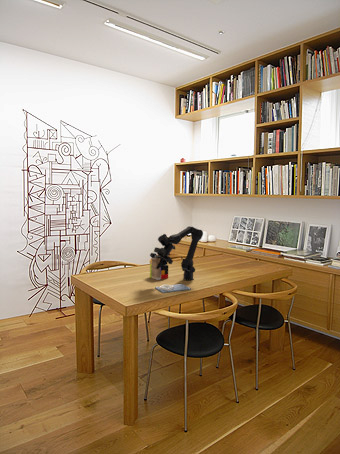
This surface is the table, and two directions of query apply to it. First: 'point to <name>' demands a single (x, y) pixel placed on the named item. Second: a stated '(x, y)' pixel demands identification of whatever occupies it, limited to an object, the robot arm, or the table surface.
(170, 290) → the blueprint board
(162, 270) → the puzzle toy
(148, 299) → the table surface
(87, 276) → the table surface
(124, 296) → the table surface
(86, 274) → the table surface
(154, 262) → the pillar
